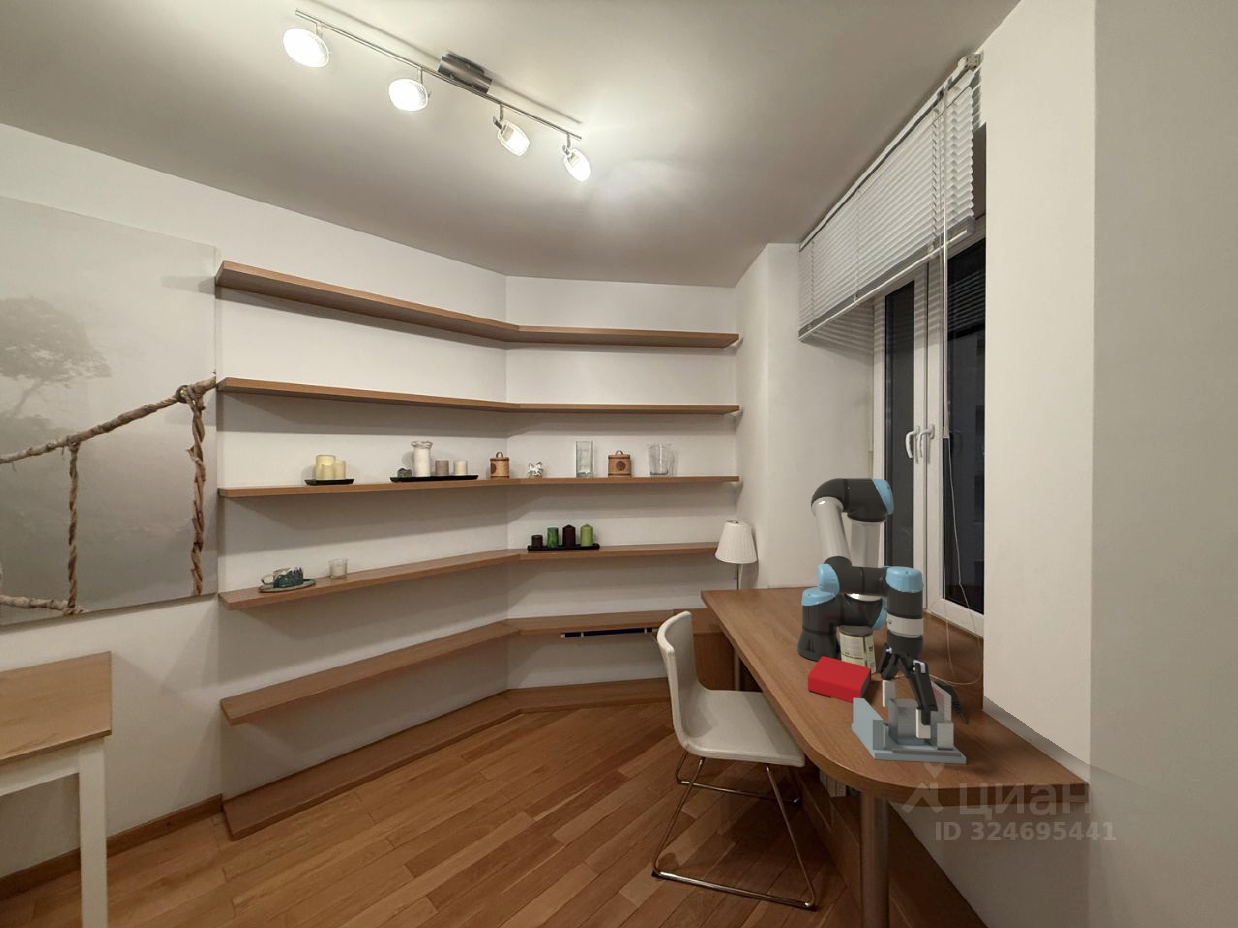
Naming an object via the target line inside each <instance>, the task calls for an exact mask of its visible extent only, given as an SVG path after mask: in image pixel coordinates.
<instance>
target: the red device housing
mask: <svg viewBox="0 0 1238 928" xmlns="http://www.w3.org/2000/svg"><path fill="white" fill-rule="evenodd" d="M869 684H872V674H871V668H868V667H864V666H860V665H856V664H852V663H848V662H844V661H842V660H836V659H832V658H828V657H824V656H822V658H821V659H820V660H819V661H817V662H816V664H815V665H814V666H813V667H812V669H810V671H809V673H808V674H807V691H809V692H813V693H816V694H819V695H823V696H826V697H829V698H834V699H838V700H840V701H844V702H847V703H851V704H854V698H863V697H864V695H865V693H866V691H867V688H868V686H869Z"/></svg>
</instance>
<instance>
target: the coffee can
mask: <svg viewBox="0 0 1238 928" xmlns="http://www.w3.org/2000/svg"><path fill="white" fill-rule="evenodd" d="M838 632H839V643H840V646H841V657H842V659H841V661H844V662H848V663H852V664H856V665H860V666H864V667H868V668H871V675H874V674H876V672H877V667H876V666H877V664H876V658H875V644H874V634H873V633H874V630H872V629H871V628H869V627H867V626H848V625H842V626H839V627H838Z"/></svg>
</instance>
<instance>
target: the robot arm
mask: <svg viewBox="0 0 1238 928" xmlns="http://www.w3.org/2000/svg"><path fill="white" fill-rule="evenodd" d="M894 507H895V505H894V498H893V492H892V489H891V486H890V484H889V482H888V481H887V480H885V479H882V478H873V477H871V478H870V477H869V478H868V477H867V478H864V477H863V478H861V477H860V478H859V477H858V478H857V477H855V478H853V477H852V478H849V477H848V478H842V477H837V478H832V479H829V480H827V481H824V482H823V483H822V484H821V485H819V487H818V488H817V489H816V490H815V491H814V492H813V495H812V496H811V501H810V508H811V509H810V510H811V513H812V515H813V516H814V517H815V519H816V527H817V533H818V534H817V535H818V538H819V539H818V540H819V545H820V554H821V559H822V563H820V564H818V565H817V566H816V567H817V568H816V584H817V585H816V586H815V587H814V586H813V587H809V588H807V589H804V590H803V591H802V594H801V595H802V596H801V603H800V604H801V630H800V633H799V636H798V639H797V642H796V652H797V653H798V654H799V655H800V656H802V657H803V658H805V659H809V660H812V661H816V662H818V661H819V660H820V659H821V658H822V656H824V657H828V658H832V659H836V660H840V661H842V657H841V646H840V639H839V637H838V634H837V633H838V630H837V629H838V628H839V626H842V625H848V626H867V627H869V628H871V629H872V630H873V632H874V631H877V632H878V631H881V630H882V629H883V628H884V627H885V624H886V628H887V629H888V630H886V642H884V643H883V652H882V654H881V657H880V659H879V663H878V667H877V668H876V672H877V674H880V678H881V680H882V706H883V707H884V708H888V698H895V699H896V675H897V674H898V673H899V672H900V671H901V672H902V673H903V674H904V677H905V678H906V679H907V680H908V682H909V685H910V688H911V690H912V693H913V696H914V699H915V701H916V702H917V704H918V707H916V736H917V737H918V738H930V725H931V711H935V712H938V706H937V702H936V699H935V695H934V691H933V688H932V684H931V681H932V680H931V677H930V674H929V673H930V672H929V671H930V670H929V665H928V663H927V662H921V661H920V660H919V654H921V653H923V652H924V637H923V634H924V583H923V573H922V572H921V571H920V570H919V569H917V568H912V567H909V566H898V565H897V566H895V565H894V566H889V565H884V566H881V567H879V559H880V557H879V556H880V541H881V540H880V539H881V525H882V524H883V523H885V522H886V521H887V515H888V516H889V515H892V514H893V513H894V510H895V509H894ZM843 513H844V514H845V513H846V518H847V519H848V520H849V521H851V530H850V531H851V536H850V547H849V543H848V538H847V534H846V530H845V525H844V520H843V516H842V514H843ZM894 680H895V681H894ZM922 703H923V704H922Z"/></svg>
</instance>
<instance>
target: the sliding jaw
mask: <svg viewBox="0 0 1238 928" xmlns="http://www.w3.org/2000/svg"><path fill="white" fill-rule="evenodd" d="M934 682H935V681H932V680H931V684H932V688H933V691H934V695H935V699H936V702H937V706H938V712H935V711H931V725H930V738H925V739H926V740H927V741H928V742H929V743H930V744H931V745H932V746H933V747H934V748H935V749H936V750H942V751H953V746H954V723H953V722H952V706H951V695H949V694H948V693H947V692H945V691H944V690H943V689H941V688H940V687H939V686H937V685H936V684H935V683H934ZM922 704H923V703H922Z"/></svg>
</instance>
